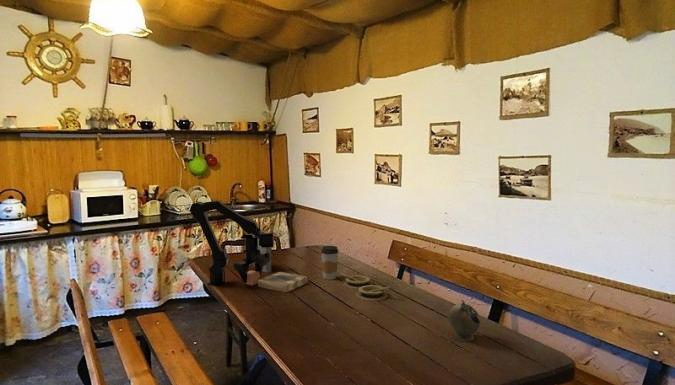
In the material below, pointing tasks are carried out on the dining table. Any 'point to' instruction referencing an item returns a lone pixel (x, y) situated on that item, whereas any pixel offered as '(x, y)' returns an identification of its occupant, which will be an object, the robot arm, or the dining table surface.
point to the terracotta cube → (252, 277)
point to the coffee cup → (329, 262)
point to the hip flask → (264, 250)
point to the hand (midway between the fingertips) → (252, 280)
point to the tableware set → (365, 287)
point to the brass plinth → (282, 281)
